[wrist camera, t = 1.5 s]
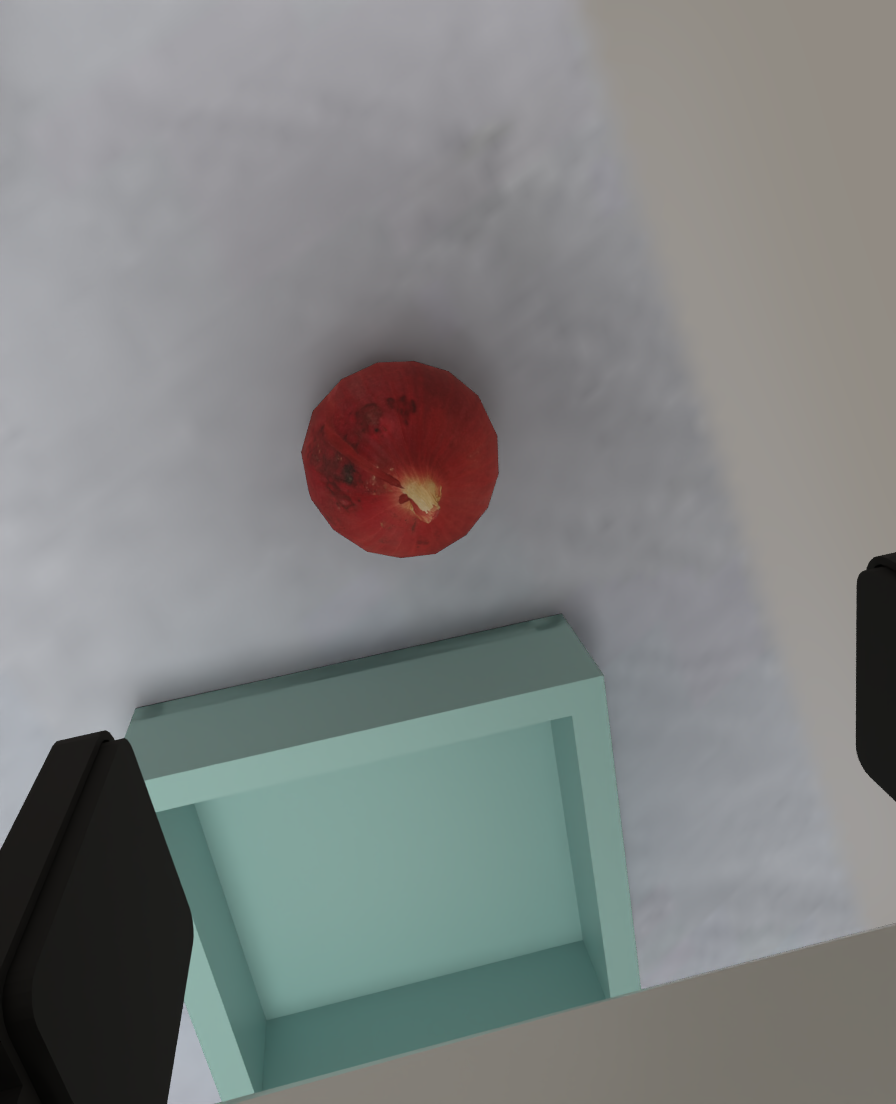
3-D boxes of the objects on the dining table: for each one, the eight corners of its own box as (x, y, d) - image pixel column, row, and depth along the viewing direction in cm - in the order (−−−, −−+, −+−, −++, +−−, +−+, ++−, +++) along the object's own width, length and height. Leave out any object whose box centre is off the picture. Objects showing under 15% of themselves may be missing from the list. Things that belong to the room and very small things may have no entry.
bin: (605, 936, 38) (646, 1032, 33) (246, 1028, 37) (236, 1141, 32) (561, 613, 32) (603, 675, 28) (135, 708, 31) (104, 789, 26)
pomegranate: (285, 492, 29) (276, 575, 22) (329, 325, 28) (335, 354, 20) (446, 532, 31) (490, 624, 23) (497, 376, 29) (560, 420, 22)
